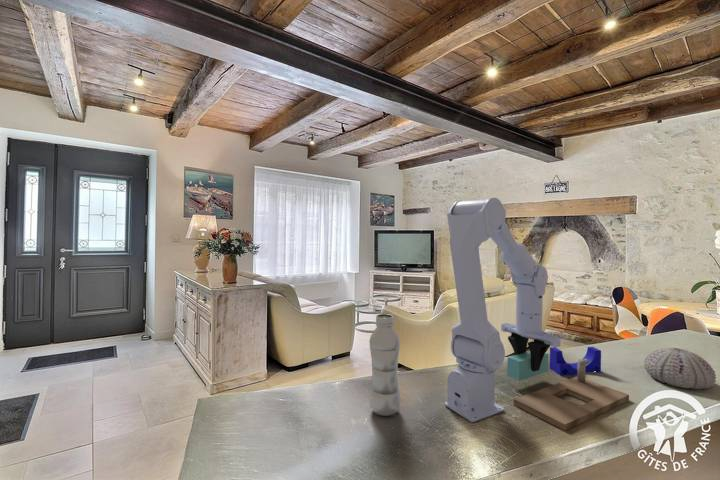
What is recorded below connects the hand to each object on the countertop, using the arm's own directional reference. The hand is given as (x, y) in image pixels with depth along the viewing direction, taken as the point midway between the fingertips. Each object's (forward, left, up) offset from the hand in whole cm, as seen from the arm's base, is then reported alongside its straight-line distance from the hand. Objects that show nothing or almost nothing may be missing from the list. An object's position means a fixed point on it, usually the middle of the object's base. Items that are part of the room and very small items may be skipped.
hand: (528, 367), depth 84 cm
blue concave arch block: (+18, -2, -4) cm, 19 cm away
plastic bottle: (-38, +6, -4) cm, 39 cm away
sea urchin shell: (+34, -17, -4) cm, 39 cm away
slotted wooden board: (0, -10, -4) cm, 11 cm away
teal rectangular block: (0, 0, -2) cm, 2 cm away
